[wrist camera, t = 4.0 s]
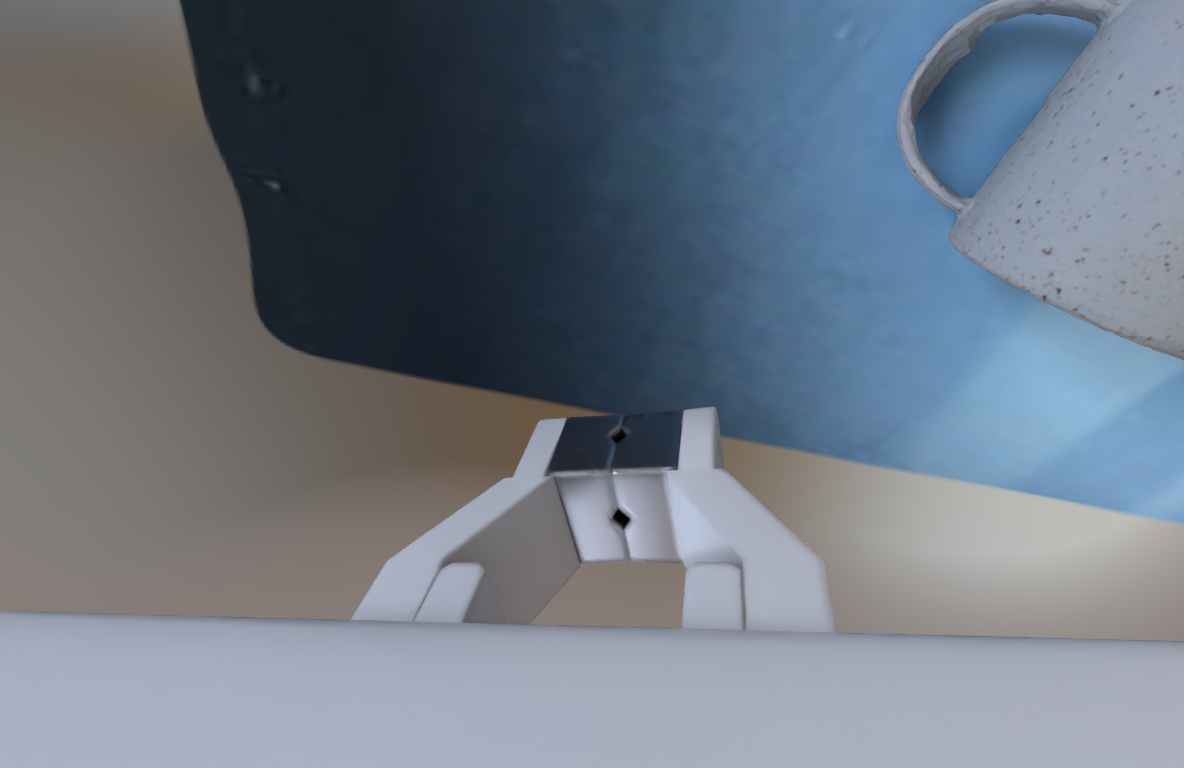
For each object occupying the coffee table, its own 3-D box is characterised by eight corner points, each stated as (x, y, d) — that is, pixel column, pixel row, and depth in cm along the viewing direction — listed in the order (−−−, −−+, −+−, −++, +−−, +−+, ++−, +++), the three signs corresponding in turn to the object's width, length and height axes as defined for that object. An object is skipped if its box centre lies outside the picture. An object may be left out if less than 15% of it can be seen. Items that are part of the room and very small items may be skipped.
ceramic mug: (1335, 44, 17) (1710, 60, 10) (1111, 293, 21) (1275, 411, 15) (985, -82, 17) (1139, -144, 10) (837, 193, 21) (882, 266, 15)
